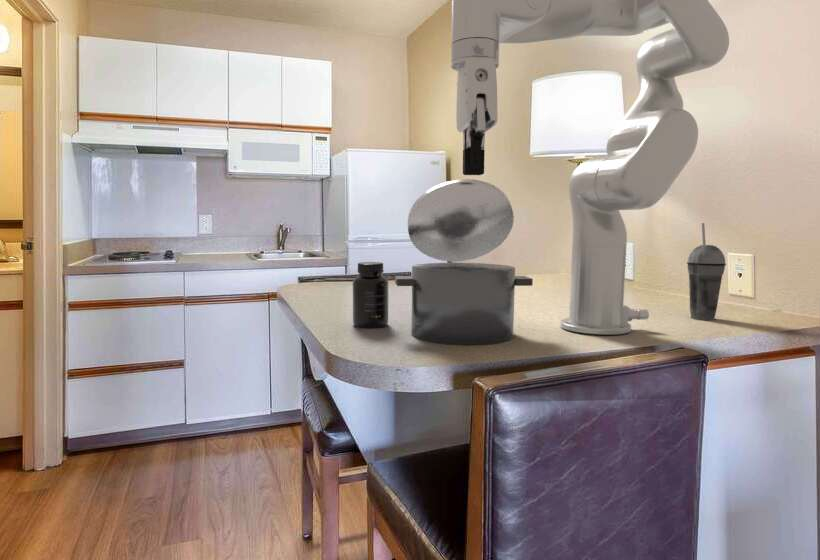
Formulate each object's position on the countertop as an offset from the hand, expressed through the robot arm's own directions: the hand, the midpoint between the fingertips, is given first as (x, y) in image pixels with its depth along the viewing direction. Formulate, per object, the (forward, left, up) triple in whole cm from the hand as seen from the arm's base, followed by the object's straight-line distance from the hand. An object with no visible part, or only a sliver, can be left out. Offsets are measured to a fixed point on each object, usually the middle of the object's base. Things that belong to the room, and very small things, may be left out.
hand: (473, 174), depth 90 cm
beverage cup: (-54, -19, -28) cm, 63 cm away
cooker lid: (0, -9, -8) cm, 12 cm away
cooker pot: (0, -6, -28) cm, 28 cm away
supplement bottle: (+16, -15, -28) cm, 35 cm away
